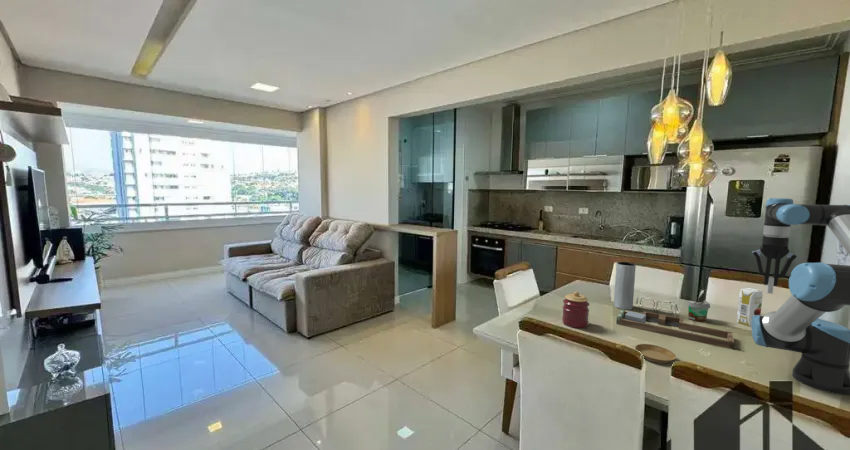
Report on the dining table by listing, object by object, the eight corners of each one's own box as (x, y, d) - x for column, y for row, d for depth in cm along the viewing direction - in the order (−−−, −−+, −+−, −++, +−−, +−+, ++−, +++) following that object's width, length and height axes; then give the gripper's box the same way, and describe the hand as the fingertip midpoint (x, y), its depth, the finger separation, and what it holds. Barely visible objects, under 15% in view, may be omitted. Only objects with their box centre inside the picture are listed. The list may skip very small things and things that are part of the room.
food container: (697, 323, 184) (699, 305, 183) (686, 319, 190) (687, 302, 189) (714, 321, 188) (716, 303, 187) (702, 317, 194) (704, 300, 192)
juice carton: (734, 322, 187) (738, 288, 184) (744, 320, 190) (747, 286, 188) (751, 327, 180) (755, 292, 177) (761, 325, 183) (765, 290, 180)
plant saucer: (677, 356, 148) (678, 351, 148) (673, 370, 138) (673, 363, 137) (638, 346, 158) (638, 340, 158) (631, 357, 147) (631, 352, 147)
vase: (610, 305, 213) (612, 262, 210) (622, 303, 216) (625, 261, 213) (623, 310, 204) (626, 265, 201) (636, 308, 207) (639, 264, 204)
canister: (593, 326, 180) (595, 293, 178) (575, 330, 176) (576, 296, 174) (574, 317, 192) (576, 287, 190) (556, 321, 188) (558, 289, 186)
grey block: (641, 328, 179) (642, 318, 179) (624, 323, 185) (625, 314, 184) (645, 323, 185) (646, 314, 184) (628, 319, 190) (629, 311, 190)
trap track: (733, 349, 155) (734, 340, 154) (616, 323, 184) (616, 316, 183) (729, 333, 173) (730, 325, 172) (623, 312, 201) (623, 305, 201)
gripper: (796, 236, 139) (789, 293, 141) (752, 233, 147) (746, 287, 149) (801, 238, 133) (794, 297, 135) (755, 235, 141) (749, 291, 143)
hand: (769, 292), depth 142 cm, fingers closed
